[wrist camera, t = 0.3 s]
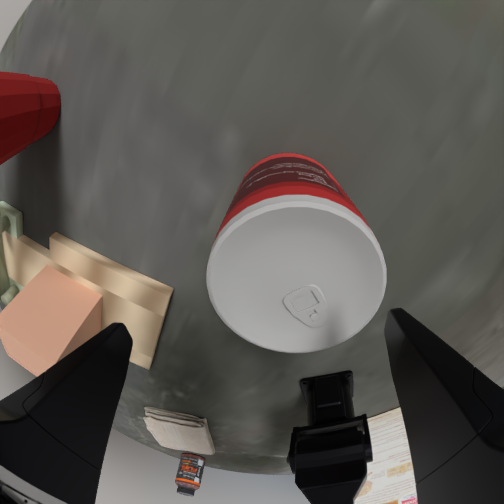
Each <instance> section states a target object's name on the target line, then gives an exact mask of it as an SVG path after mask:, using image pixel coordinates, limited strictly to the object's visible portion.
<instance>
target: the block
mask: <svg viewBox="0 0 504 504" xmlns="http://www.w3.org/2000/svg"><path fill="white" fill-rule="evenodd" d="M101 313H102V295H101V294H99V293H97V292H95V291H93V290H91V289H89V288H87V287H86V286H84V285H82V284H80V283H78V282H76V281H75V280H73V279H71V278H69V277H67V276H66V275H64V274H62V273H60V272H59V271H57V270H55V269H54V268H52V267H50V266H49V265H46V266H45V267H44V268H43V269H42V270H41V271H40V272H39V273H38V274H37V275H36V276H35V277H34V278H33V279H32V280H31V281H30V282H29V283H28V284H27V285H26V286H25V287H24V288H23V289H22V290H21V291H20V292H19V293H18V294H17V295H16V296H15V298H14V299H13V300H12V301H11V302H10V303H9V304H8V305H7V306H6V307H5V309H4V310H3V311H2V312H1V313H0V338H1V340H2V343H3V345H4V347H5V350H6V352H7V354H8V355H9V356H10V357H11V358H12V359H14V360H15V361H16V362H18V363H19V364H20V365H22V366H23V367H24V368H26V369H27V370H28V371H30V372H31V373H33V374H34V375H35V376H37V377H38V376H39V375H40V374H42V373H43V372H46V370H47V369H49V368H50V367H51V366H53V365H54V364H56V363H57V362H58V361H60V360H61V359H62V358H64V357H65V356H67V355H68V354H69V353H71V352H72V351H74V350H75V349H76V348H78V347H79V346H81V345H82V344H83V343H85V342H86V341H88V340H89V339H90V338H92V337H93V336H95V335H96V334H97V333H99V332H100V330H101Z"/></svg>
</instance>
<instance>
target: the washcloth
mask: <svg viewBox="0 0 504 504" xmlns="http://www.w3.org/2000/svg"><path fill="white" fill-rule="evenodd" d="M144 409H145V411H146V412H145V414H146V417H143V419H144V420H145V422H146V425H147V430H149V431H150V432H151V433H152V435H153V436H154V438H155V439H156V440H157V441H158V442H159V444H160V445H161V446H164V447H166V448H171V449H175V450H185V451H191V452H195V453H201V454H207V455H213V454H214V453H215V451H216V450H215V448H214V444H213V441H212V437H211V435H210V433H209V429H208V424H207V419H206V418H199V417H196V416H193V415H188V414H183V413H177V412H171V411H166V410H162V409H158V408H153V407H144Z"/></svg>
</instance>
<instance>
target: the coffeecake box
mask: <svg viewBox="0 0 504 504" xmlns="http://www.w3.org/2000/svg"><path fill="white" fill-rule="evenodd" d="M367 421H368V426H369V432H370V438H371V444H372V453H373V462H369V463H367V480H366V482H365V484H364V486H363V487H362V489H361V491H360V493H359V494H358V496H357V498H356V499H355V502H354V504H418V501H417V493H416V483H415V478H414V471H413V465H412V460H411V454H410V449H409V444H408V439H407V434H406V429H405V425H404V421H403V416H402V412H401V408H400V407H399V408H396V409H393V410H391V411H388V412H385V413H382V414H380V415H377V416H374V417H371V418H368V419H367Z"/></svg>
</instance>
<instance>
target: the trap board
mask: <svg viewBox="0 0 504 504" xmlns="http://www.w3.org/2000/svg"><path fill="white" fill-rule="evenodd" d="M49 244H50V250H49V249H47V248H45V247H43V246H42V245H40V244H38V243H37V242H35V241H33V240H32V239H30V238H29V237H27V236H25V235H24V234H23V217H22V212H20V211H19V210H17V209H15V208H13V207H12V206H10V205H9V204H7V203H5V202H4V201H1V202H0V302H3V303H4V304H5V305H6V306H7V305H8V304H9V303H10V302H11V301H12V300H13V299H14V298H15V296H16V295H17V294H18V293H19V292H20V291H21V290H22V289H23V288H24V287H25V286H26V285H27V284H28V283H29V282H30V281H31V280H32V279H33V278H34V277H35V276H36V275H37V274H38V273H39V272H40V271H41V270H42V269H43V268H44V267H45V266H46V265H49V266H50V267H52V268H54V269H55V270H57V271H59V272H60V273H62V274H64V275H66V276H67V277H69V278H71V279H73V280H75V281H76V282H78V283H80V284H82V285H84V286H86V287H87V288H89V289H91V290H93V291H95V292H97V293H99V294H101V295H102V313H101V330H100V331H102V330H103V329H105V328H106V327H107V326H109V325H110V324H112V323H114V322H120V323H123V324H125V326H126V328H127V330H128V331H129V333H130V335H131V337H132V339H133V347H132V351H131V356H130V360H129V361H130V362H133V363H135V364H137V365H139V366H142V367H144V368H146V369H148V370H149V368H150V366H151V363H152V360H153V356H154V353H155V349H156V346H157V342H158V339H159V335H160V332H161V328H162V325H163V322H164V318H165V315H166V312H167V309H168V305H169V302H170V299H171V296H172V293H173V290H174V288H172V287H169V286H167V285H165V284H163V283H160V282H158V281H156V280H153V279H151V278H149V277H147V276H145V275H142V274H140V273H138V272H136V271H134V270H132V269H129V268H127V267H125V266H123V265H121V264H119V263H117V262H115V261H113V260H110V259H108V258H106V257H104V256H102V255H100V254H98V253H96V252H94V251H92V250H90V249H88V248H86V247H84V246H82V245H80V244H78V243H77V242H75V241H73V240H71V239H69V238H67V237H65V236H63V235H61V234H59V233H58V232H55V233H54V234H52V235H51V236H50V237H49Z"/></svg>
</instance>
